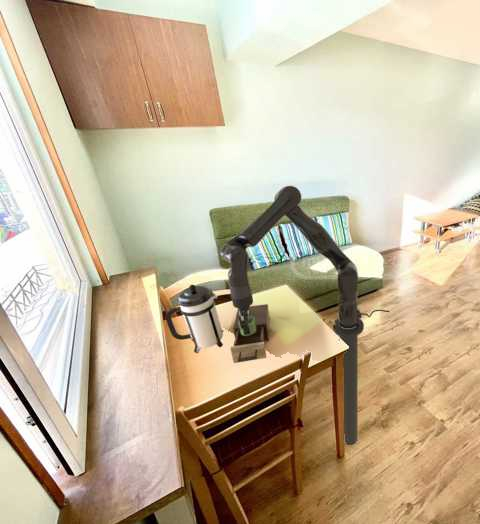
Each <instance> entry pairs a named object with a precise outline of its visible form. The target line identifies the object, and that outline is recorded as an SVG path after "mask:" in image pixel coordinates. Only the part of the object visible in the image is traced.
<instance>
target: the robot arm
mask: <svg viewBox="0 0 480 524" xmlns="http://www.w3.org/2000/svg"><path fill="white" fill-rule="evenodd" d="M302 199H303V198H302V193H301V191H300V190H299V188H297V187H296V186H294V185H285V186H283V187H282V188H281V189H279V190H278V191H277V192H276V193H275V195H274V197H273V200H274V201H273V202H272V204H271V205H270V206H268V207H267V209H265V210H264V211H263V212H262V213H261V214H260V215H258V216H257V217H256V218H255V219H253V221H251V223H249V224H248V225H247V226H246V227H245V228H244V229H243V230H242V232H240V233H239V234H236V235H235V236H233V237H232V238H231V239H229V240H228V241H227V242H225V243H224V244H223V245H222V247H221V249H220V251H219V253H220V258H221V259H222V260H223V261H225V262H227V263H229V264H230V269H229V270H228V272H227V278H228V284H229V292H230V296H231V302H232V306H233V307H234V308H236V309H237V310H238V309H240V310H239V315H240V316H239V321H240V326H241V329H243V331H244V335H247V334H250V330H249V322H248V321H249V320H250V318H249V316H251V309H250V306H252V305H253V303H254V297H253V291H252V286H251V283H250V277H249V273H248V270H249V260H250V258H249V253H248V250H247V249H248V248H254V247H256V246H257V245H258V244H259V243H260V242H261V241H262V240H263V239H264V238H265V236H267V234H268V233H269V232H270V231H271V230H272V228H274V226H276V224H278V222H279V221H280V220H281V219H282V218H283V217H284V216H285V217H286V218H287V219H288V220H289V221H290V222H291V223H292V224H293V225H294V226H295V227H296V228H297V230H298V231H299V233H301V234H302V235H303V237H304V238H305V239H306V240H307V242H308V243H309V244H310V245H311V246H312V248H313V249H314V250H315V251H317V252H318V253H319V254H320V255H322V256H323V257H325V258H326V259H327V260H328V261H330V263H331V264H332V265H333V267H334V269H335V270H336V272H337V296H338V297H337V299H338V300H337V301H338V302H337V303H338V317H337V319H339V327H340V328H341V329H344V330H353V329H355V328H356V327H359V319H362V316H366V317H367V318H371V317H372V315H373V314H374V313H375V312H385V313H390V310H385V309H374V310H373V311H371V312H370V314H368V313H365V312H364V313H363V312H361V310H360V309H359V308H358V291H359V273H358V268H357V266H356V264H355V263H354V262H353V261H352V260H351V259H350V258H349V257H348V256H347V255H346V254H345V253H344V252H343V251H342V249H341V248H340V246H339V245H338V244H337V242H336V241H335V240H334V238H333V236H332V235H331V234H330V233H329V232H328V230H327V229H326V228H325V227H324V226H323V225H322V224H321V223H320V222H318V221H317V220H316V219H314V218H312V217H311V216H310V215H308V214H307V213H306V212H305V211H304V210H303V209H302V207H301V206H300V204H301V202H302ZM246 317H248V318H247V319H246Z"/></svg>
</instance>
